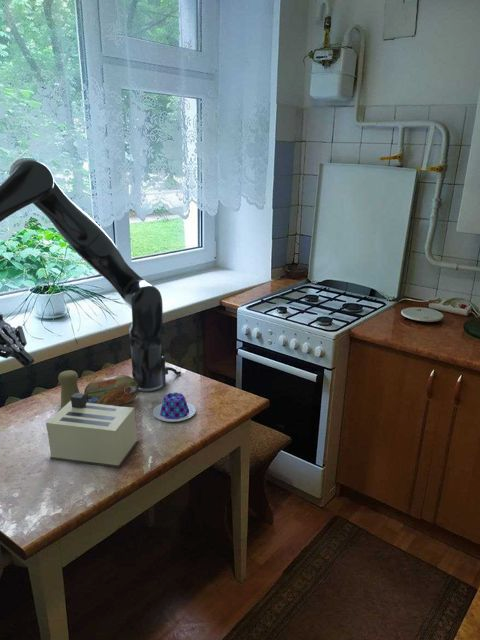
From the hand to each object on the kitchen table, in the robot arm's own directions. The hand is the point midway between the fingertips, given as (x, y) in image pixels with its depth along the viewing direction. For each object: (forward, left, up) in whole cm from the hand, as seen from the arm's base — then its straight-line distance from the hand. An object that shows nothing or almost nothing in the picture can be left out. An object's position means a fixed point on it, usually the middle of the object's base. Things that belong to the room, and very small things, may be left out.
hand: (30, 364), depth 120 cm
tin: (-21, -5, -20) cm, 30 cm away
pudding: (-33, +10, -20) cm, 40 cm away
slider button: (-8, +8, -10) cm, 15 cm away
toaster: (-8, +15, -20) cm, 26 cm away
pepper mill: (-11, -10, -20) cm, 26 cm away
